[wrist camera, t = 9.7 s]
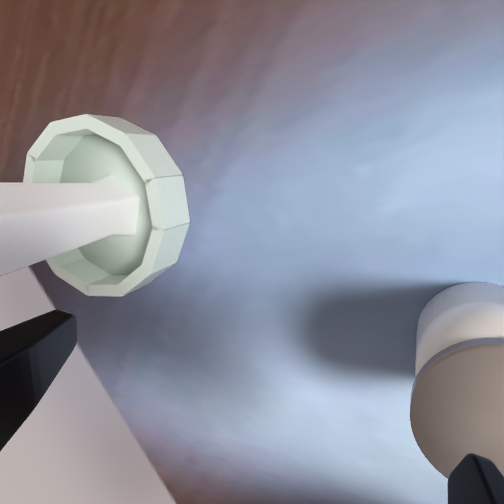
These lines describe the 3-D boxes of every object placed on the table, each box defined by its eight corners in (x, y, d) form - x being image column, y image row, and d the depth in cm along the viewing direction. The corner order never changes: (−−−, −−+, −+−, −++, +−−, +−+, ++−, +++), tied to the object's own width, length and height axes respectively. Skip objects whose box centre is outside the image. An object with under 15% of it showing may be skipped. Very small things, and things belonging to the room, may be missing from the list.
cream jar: (573, 360, 17) (658, 481, 11) (454, 401, 19) (468, 520, 13) (502, 258, 17) (545, 319, 11) (393, 312, 19) (377, 387, 13)
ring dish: (219, 229, 22) (195, 238, 20) (115, 309, 26) (87, 323, 24) (120, 82, 22) (86, 74, 20) (35, 186, 27) (-1, 189, 24)
